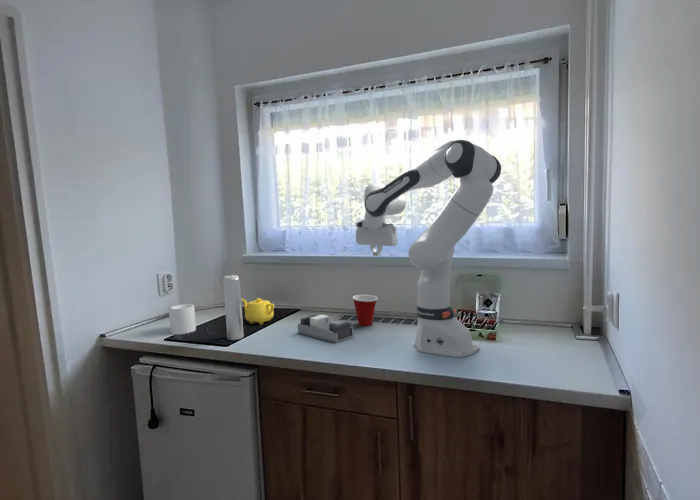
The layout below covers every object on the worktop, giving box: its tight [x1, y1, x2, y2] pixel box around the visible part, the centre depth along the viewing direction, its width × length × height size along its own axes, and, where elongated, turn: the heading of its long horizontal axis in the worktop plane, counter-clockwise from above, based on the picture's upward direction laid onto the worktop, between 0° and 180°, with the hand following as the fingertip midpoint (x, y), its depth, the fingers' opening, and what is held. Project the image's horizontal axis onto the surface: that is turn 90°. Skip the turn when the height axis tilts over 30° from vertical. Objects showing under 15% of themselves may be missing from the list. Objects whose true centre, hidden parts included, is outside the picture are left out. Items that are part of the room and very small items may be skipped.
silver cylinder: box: [222, 274, 245, 341], centre depth 174 cm, size 6×6×25 cm
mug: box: [168, 303, 197, 335], centre depth 189 cm, size 14×10×11 cm
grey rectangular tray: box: [297, 314, 355, 344], centre depth 174 cm, size 22×10×6 cm, turn 46°
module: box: [310, 314, 331, 331], centre depth 175 cm, size 5×6×6 cm
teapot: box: [241, 297, 275, 325], centre depth 198 cm, size 18×11×11 cm, turn 65°
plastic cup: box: [352, 294, 379, 327], centre depth 186 cm, size 11×11×12 cm
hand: (376, 256), depth 184 cm, fingers closed
